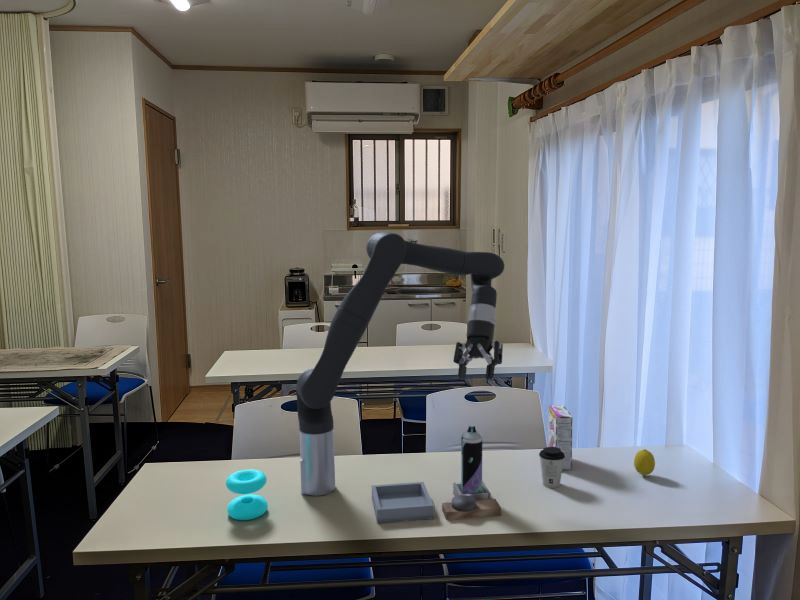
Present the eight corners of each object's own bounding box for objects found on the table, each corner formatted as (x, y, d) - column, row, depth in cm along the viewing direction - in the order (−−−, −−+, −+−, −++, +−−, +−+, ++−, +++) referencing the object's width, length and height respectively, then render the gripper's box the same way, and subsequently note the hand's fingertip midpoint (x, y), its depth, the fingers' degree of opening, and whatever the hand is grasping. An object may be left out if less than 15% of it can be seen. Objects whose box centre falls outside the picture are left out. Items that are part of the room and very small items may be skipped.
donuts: (220, 473, 161) (258, 464, 166) (222, 510, 162) (260, 500, 167) (232, 487, 152) (272, 477, 157) (234, 526, 154) (273, 515, 159)
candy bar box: (546, 455, 195) (547, 404, 193) (563, 455, 195) (564, 404, 193) (554, 470, 184) (556, 416, 182) (572, 470, 184) (573, 416, 182)
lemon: (655, 474, 180) (657, 447, 179) (652, 481, 176) (653, 454, 175) (635, 470, 183) (636, 444, 182) (631, 477, 179) (632, 450, 178)
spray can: (468, 505, 163) (468, 431, 160) (457, 497, 168) (457, 424, 165) (486, 500, 165) (486, 427, 163) (474, 492, 170) (474, 421, 167)
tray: (377, 523, 154) (377, 509, 154) (371, 497, 168) (371, 485, 167) (433, 518, 156) (433, 505, 155) (423, 494, 170) (423, 481, 169)
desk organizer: (446, 520, 155) (446, 507, 154) (435, 494, 169) (435, 482, 169) (501, 516, 157) (501, 503, 156) (485, 491, 171) (485, 478, 171)
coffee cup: (554, 492, 170) (555, 457, 168) (533, 484, 175) (533, 449, 174) (569, 484, 174) (570, 450, 173) (548, 477, 180) (548, 443, 178)
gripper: (453, 320, 179) (446, 376, 174) (496, 317, 170) (490, 376, 165) (467, 327, 184) (460, 382, 180) (510, 325, 175) (504, 382, 171)
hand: (475, 379), depth 172 cm, fingers open, 8 cm apart
